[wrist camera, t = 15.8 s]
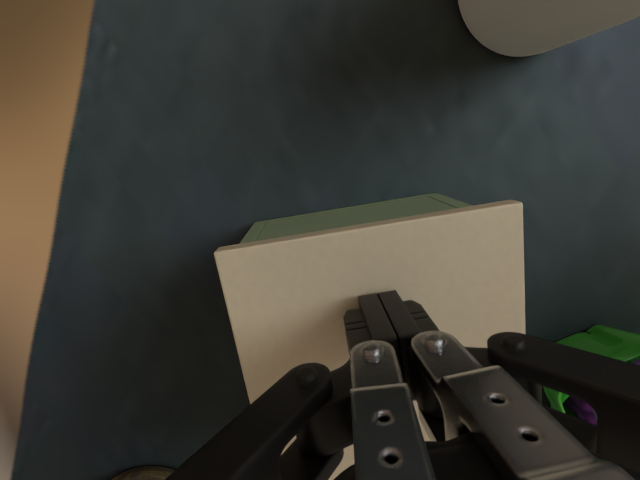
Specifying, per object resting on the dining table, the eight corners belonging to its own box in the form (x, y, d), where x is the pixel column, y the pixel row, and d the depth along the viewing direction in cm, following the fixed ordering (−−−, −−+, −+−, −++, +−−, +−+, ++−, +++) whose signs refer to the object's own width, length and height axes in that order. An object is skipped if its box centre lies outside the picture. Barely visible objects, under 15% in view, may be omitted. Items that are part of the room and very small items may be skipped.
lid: (217, 246, 14) (212, 252, 14) (511, 198, 14) (523, 201, 13) (284, 527, 18) (283, 544, 17) (520, 490, 18) (530, 506, 17)
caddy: (254, 221, 23) (222, 265, 15) (436, 192, 23) (511, 218, 14) (292, 404, 26) (284, 526, 18) (451, 379, 26) (520, 490, 18)
